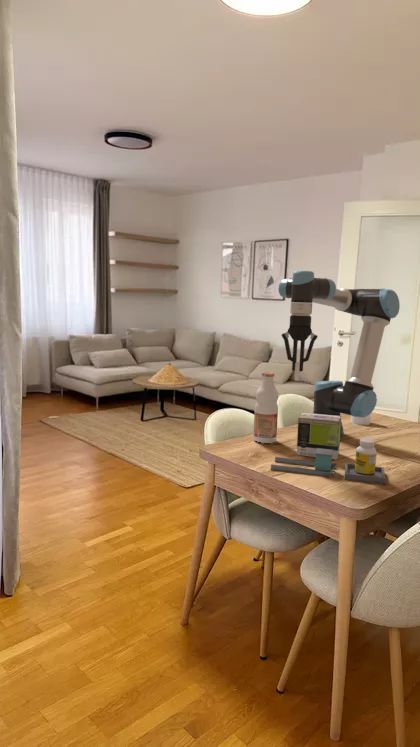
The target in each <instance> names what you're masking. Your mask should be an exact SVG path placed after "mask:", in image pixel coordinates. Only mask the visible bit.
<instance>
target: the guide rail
mask: <svg viewBox="0 0 420 747" xmlns="http://www.w3.org/2000/svg"><path fill="white" fill-rule="evenodd" d="M274 462H277V463H285V464H292V465H293V464H294V465H301V466H308V467H315V462H316V460H308V459H307V460H306V459H299V458H298V459H297V458H289V457H281V456H275V457H274ZM336 465H337V464H336V463H333V462H331V470H332V469H335V470H336ZM270 470H271V471H273V470H274V471H280V472H288V473H296V474H304V475H312V476H320V477H328V478H335V476H336V473H335V471H322V470H315V468H314V469H312V468H306V467H305V468H304V467H297V466H296V467H295V466H288V465H280V464H271V465H270Z"/></svg>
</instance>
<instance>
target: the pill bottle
mask: <svg viewBox="0 0 420 747" xmlns="http://www.w3.org/2000/svg"><path fill="white" fill-rule="evenodd" d="M375 444H376V442H375V440H374V439H372V438H371V439H370V438H360V439H359V446H357V447H356V450H355V462H354V464H355V473H356V474H359V475H367V476H374V474H375V466H377V465H376V464H377V452H378V451H377V450H376V448H375Z"/></svg>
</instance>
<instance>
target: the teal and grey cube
mask: <svg viewBox="0 0 420 747" xmlns="http://www.w3.org/2000/svg"><path fill="white" fill-rule="evenodd" d="M332 453H333V450H330V449H321V448H317V449H316V453H315V455H316V457H315V461H316V462H315V466H314V470H322V471H330V472H332V471H331V470H332V468H331V463H332V460H333V459H332Z"/></svg>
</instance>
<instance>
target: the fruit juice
mask: <svg viewBox="0 0 420 747" xmlns="http://www.w3.org/2000/svg"><path fill="white" fill-rule="evenodd" d="M261 377H262V380H261V383H260V385H259V387H258V388H257V389H256V392H255V399H256V402H255V404H254V414H253V416H254V417H253V418H254V419H253V434H252V435H253V436H252V437H253V439H252V440H253V441H254V440H255V441H257V442H256V443H258V442H261V443H260V444H264V443H270V444H274V443H276V442H277V435H278V420H279V419H278V416H279V415H278V414H279V406H278V400H279V392H278V390H277V387H276V385H275V382H274V381H275V380H274V378H275V373H274V372H269V371H267V372H266V371H265V372H261ZM255 441H254V442H255ZM275 441H276V442H275ZM273 442H274V443H273Z"/></svg>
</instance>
